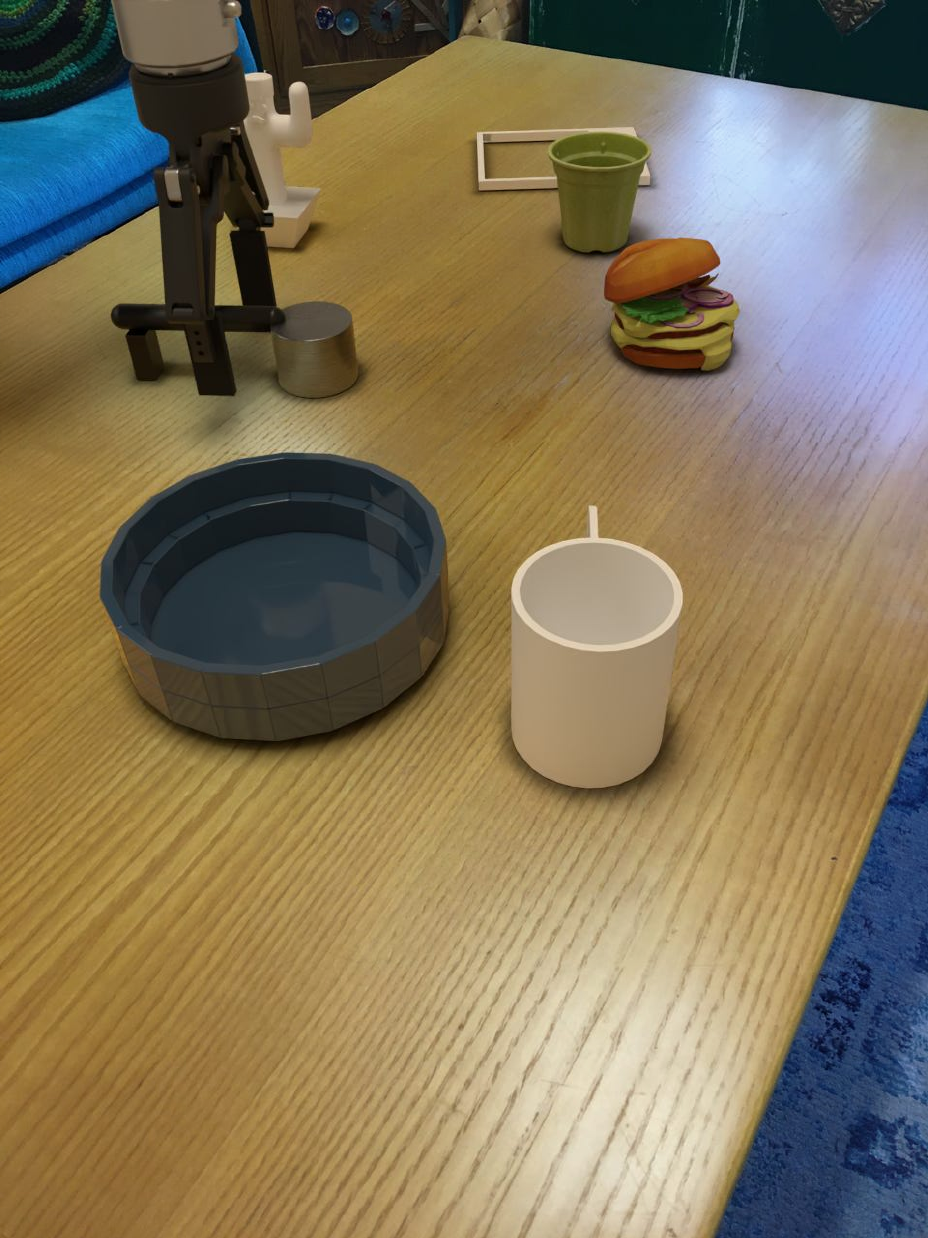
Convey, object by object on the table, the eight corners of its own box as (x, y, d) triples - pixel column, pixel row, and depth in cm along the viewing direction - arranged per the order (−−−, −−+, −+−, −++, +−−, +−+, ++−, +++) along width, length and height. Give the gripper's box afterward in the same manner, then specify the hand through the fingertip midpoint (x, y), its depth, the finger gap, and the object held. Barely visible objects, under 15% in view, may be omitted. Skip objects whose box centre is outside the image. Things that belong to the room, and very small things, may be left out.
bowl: (78, 740, 59) (46, 663, 54) (180, 521, 72) (160, 447, 68) (428, 759, 57) (421, 683, 53) (463, 531, 71) (460, 457, 67)
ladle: (364, 357, 88) (357, 289, 84) (351, 399, 83) (342, 329, 79) (139, 352, 90) (121, 285, 85) (114, 393, 85) (94, 324, 81)
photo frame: (650, 173, 111) (478, 179, 111) (649, 184, 112) (478, 190, 112) (633, 124, 122) (476, 130, 122) (633, 135, 122) (476, 140, 123)
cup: (652, 629, 63) (670, 493, 57) (667, 791, 55) (690, 653, 48) (515, 626, 64) (515, 491, 57) (508, 786, 55) (508, 649, 48)
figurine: (248, 219, 109) (220, 60, 99) (336, 224, 107) (317, 63, 97) (221, 249, 104) (189, 85, 93) (313, 256, 102) (291, 89, 92)
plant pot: (525, 242, 103) (526, 150, 97) (589, 212, 107) (593, 122, 102) (599, 271, 98) (605, 176, 92) (663, 239, 102) (672, 146, 97)
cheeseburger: (680, 395, 82) (668, 265, 76) (584, 373, 90) (567, 254, 84) (765, 348, 86) (759, 223, 81) (667, 331, 94) (655, 216, 89)
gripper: (185, 123, 61) (248, 437, 75) (281, 6, 79) (317, 277, 93) (59, 123, 62) (146, 433, 76) (183, 7, 80) (233, 276, 94)
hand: (240, 348), depth 85 cm, fingers open, 13 cm apart
